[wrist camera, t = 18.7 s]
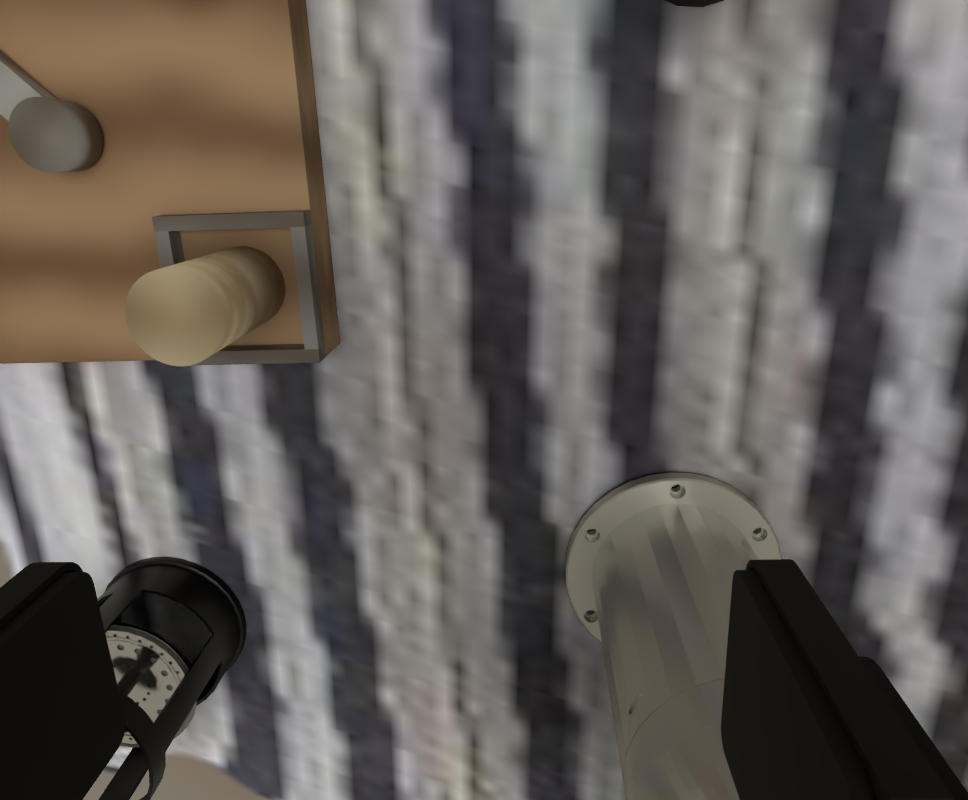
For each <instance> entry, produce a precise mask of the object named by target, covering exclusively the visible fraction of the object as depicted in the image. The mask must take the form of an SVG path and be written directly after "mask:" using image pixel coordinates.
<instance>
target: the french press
mask: <svg viewBox="0 0 968 800" xmlns="http://www.w3.org/2000/svg"><path fill="white" fill-rule="evenodd" d="M142 592H146V593H153V594H158V595H161V596H164V597H167V598H170V599H172V600H174V601H176V602H178V603H180V604H182V605H184V606H185V607H187V608H188V609H189V610H191V611H192V612H193V613H195V614H196V615H197V616H198V617H199V618H200V619H201V620H202V621H203V622H204V623H205V625H206V626H207V628H208V629H209V630H210V632H211V633H212V635H211V637H210V638H209V640H208V641H207V643H206V644H205V646H204V647H203V649H202V650H201V652H200V653H199V655H198V656H197V658H196V659H195V661H194V662H193V664H192V665H191V664H190V662H189V660H188V659H187V658H186V656H185V655H184V654H183V653H182V652H181V651H180V650H179V649H178V648H177V647H176V646H175V645H174V644H173V643H172V642H170V641H169V640H167V639H166V638H165V637H163V636H162V635H160V634H158V633H156V632H154V631H152V630H150V629H148V628H145V627H143V626H140V625H137V624H133V623H128V622H122V621H121V615H122V614H123V613H124V612H125V611H126V609H127V608H128V607H129V606H130V605H131V604H132V603H133V602H134V600H135V599H136V598H137V597H138V596H139V595H140V594H141V593H142ZM98 605H99V609H100V613H101V617H102V621H103V626H104V630H105V634H106V638H107V643H108V647H109V651H110V655H111V660H112V664H113V668H114V672H115V677H116V681H117V685H118V689H119V694H120V698H121V702H122V706H123V710H124V715H125V721H126V726H125V733H124V737H123V740H122V742H121V744H120V746H127V747H133V749H132V750H131V752H130V753H129V755H128V756H127V758H126V759H125V761H124V762H123V764H122V765H121V767H120V768H119V770H118V771H117V773H116V774H115V776H114V778H113V779H112V780H111V782H110V783H109V785H108V786H107V788H106V789H105V791H104V793H103V794H102V795H101V797H100V798H99V800H129V799H130V798H131V796H132V795H133V793H134V791H135V790H136V788H137V787H138V785H139V783H140V782H141V780H142V778H143V777H144V775H145V774H146V772H147V770H148V769H149V778H150V779H149V782H150V786H149V790H148V793H147V794H146V795H145V796H144V797H143V798H141V799H140V800H150V799H151V797H152V795H153V794H154V792H155V790H156V789H157V787H158V785H159V783H160V782H161V780H162V778H163V774H164V770H165V765H166V763H165V752H166V750H167V749H168V747H169V745H170V744H171V742H172V740H173V739H174V738H175V737H176V736H178V735H179V734H181V733H182V732H183V731H184V729H185V728H186V727H187V726H188V725H189V723H190V721H191V720H192V718H193V716H194V713H195V709H196V706H197V705H198V704H200V703H201V702H203V701H204V700H206V699H207V698H208V697H209V696H210V695H211V693H212V692H213V691H214V690H215V688H216V687H217V685H218V683H219V681H220V680H221V678H222V676H223V675H224V673H225V671H227V670H228V669H229V668H230V667H231V666H232V664H233V663H234V662H235V661H236V659H237V658H238V656H239V654H240V652H241V650H242V648H243V645H244V641H245V636H246V623H245V618H244V613H243V611H242V608H241V606H240V604H239V601H238V600H237V598H236V597H235V595H234V594H233V592H232V591H231V589H230V588H229V587H228V586H227V585H226V584H225V583H224V582H223V581H222V580H221V579H220V578H218V577H217V576H216V575H214V574H213V573H212V572H210V571H209V570H207V569H205V568H203V567H201V566H199V565H197V564H195V563H192V562H188V561H185V560H182V559H176V558H169V557H162V558H150V559H146V560H141V561H138V562H136V563H134V564H132V565H130V566H127V567H126V568H125V569H123V570H122V571H121V572H119V573H118V574H117V575H116V576H115V577H114V579H113V580H112V581H111V582H110V583H109V585H108V586H107V588H106V591H105V593H104V594H103V595H102V596H101V597H100V598H99V599H98Z"/></svg>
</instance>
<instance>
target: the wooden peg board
mask: <svg viewBox="0 0 968 800" xmlns="http://www.w3.org/2000/svg"><path fill="white" fill-rule="evenodd" d="M0 51H1V52H2V53H3V54H4V55H6V56H7V57H8V58H9V59H10V60H11V61H13V62H14V63H15V64H16V65H17V66H18V67H20V68H21V69H22V70H23V71H24V72H25V73H27V74H28V75H29V76H30V77H31V78H32V79H34V80H35V81H36V82H37V83H38V84H39V85H41V86H42V87H43V88H44V89H45V90H46V91H48V92H49V93H50V94H51V95H52V96H53V97H55V98H56V99H60V100H67V101H72V102H75V103H77V104H80V105H81V106H83V107H84V108H86V109H87V110H88V111H89V112H90V113H91V114H92V115H93V117H94V118H95V119H96V121H97V123H98V125H99V127H100V130H101V134H102V150H101V154H100V156H99V158H98V160H97V161H96V162H95V164H93V165H92V166H91V167H90V168H88V169H86V170H82V171H72V172H44V171H40V170H37V169H35V168H33V167H31V166H29V165H28V164H27V163H25V162H24V161H23V160H22V159H21V158H20V157H19V155H18V154H17V153H16V151H15V149H14V148H13V146H12V143H11V140H10V137H9V131H8V123H9V121H8V120H7V119H5V118H4V117H3V116H2V115H1V114H0V363H44V362H90V361H137V360H155V359H154V358H152V357H151V356H149V355H148V354H146V353H145V352H144V351H143V350H142V349H141V348H140V347H139V346H138V344H137V343H136V342H135V340H134V339H133V337H132V335H131V333H130V331H129V329H128V326H127V322H126V317H125V304H126V299H127V295H128V293H129V291H130V289H131V287H132V286H133V284H134V283H135V282H136V281H137V280H138V279H139V278H140V277H141V276H143V275H145V274H146V273H148V272H151V271H154V270H157V269H160V268H164V267H167V266H171V265H174V264H178V263H181V262H184V261H188V260H191V259H195V258H198V257H201V256H205V255H208V254H212V253H215V252H219V251H222V250H225V249H229V248H232V247H237V246H247V247H252V248H256V249H258V250H260V251H262V252H264V253H265V254H267V255H268V256H269V257H271V258H272V259H273V260H274V262H275V263H276V264H277V265H278V267H279V269H280V270H281V273H282V275H283V278H284V282H285V298H284V302H283V304H282V306H281V308H280V310H279V311H278V313H277V314H276V315H275V316H274V317H272V318H271V319H270V320H268V321H266V322H265V323H263V324H262V325H260V326H258V327H257V328H255V329H254V330H252V331H250V332H249V333H247V334H245V335H244V336H242V337H241V338H239V339H237V340H236V341H234V342H232V343H231V344H229V345H228V346H226V347H224V348H223V349H221V350H219V351H218V352H216V353H215V354H213V355H211V356H210V357H208V358H206V359H205V360H203V361H201V362H199V363H197V364H194V365H225V364H273V363H320V362H321V361H322V360H323V359H324V358H325V357H326V356H327V355H328V354H329V353H330V352H331V351H332V350H333V349H334V348H335V347H336V346H337V345H338V344H339V343H340V337H339V327H338V317H337V308H336V298H335V288H334V278H333V268H332V258H331V248H330V238H329V228H328V219H327V209H326V199H325V189H324V179H323V169H322V159H321V149H320V139H319V130H318V120H317V110H316V100H315V90H314V80H313V70H312V60H311V50H310V41H309V31H308V21H307V11H306V1H305V0H0Z"/></svg>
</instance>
